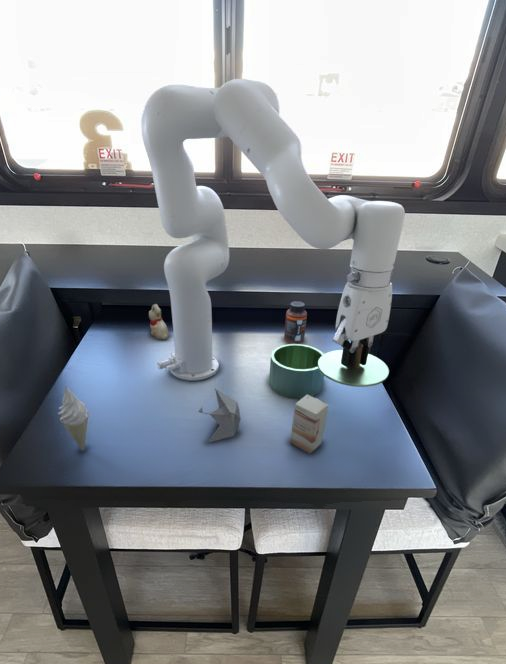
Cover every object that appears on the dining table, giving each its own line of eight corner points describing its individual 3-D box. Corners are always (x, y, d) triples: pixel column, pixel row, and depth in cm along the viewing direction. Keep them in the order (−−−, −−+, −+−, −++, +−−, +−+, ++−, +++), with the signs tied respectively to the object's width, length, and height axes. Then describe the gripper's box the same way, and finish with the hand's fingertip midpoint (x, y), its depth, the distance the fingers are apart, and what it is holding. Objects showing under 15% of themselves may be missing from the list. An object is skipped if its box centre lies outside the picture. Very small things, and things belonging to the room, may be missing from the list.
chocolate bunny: (169, 328, 128) (166, 297, 123) (168, 340, 122) (166, 307, 116) (150, 329, 128) (147, 298, 122) (149, 340, 121) (146, 308, 116)
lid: (352, 397, 78) (357, 369, 74) (303, 364, 88) (306, 338, 84) (402, 376, 84) (409, 350, 81) (352, 348, 94) (356, 323, 91)
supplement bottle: (303, 345, 120) (307, 308, 114) (282, 343, 121) (285, 306, 115) (304, 336, 125) (308, 300, 119) (285, 334, 126) (288, 299, 120)
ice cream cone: (72, 442, 83) (56, 378, 75) (98, 441, 84) (84, 378, 76) (66, 459, 79) (47, 394, 71) (93, 458, 79) (78, 393, 71)
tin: (291, 404, 96) (294, 376, 92) (258, 377, 105) (260, 351, 101) (333, 388, 102) (338, 361, 98) (299, 364, 111) (302, 339, 107)
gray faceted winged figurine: (242, 442, 82) (197, 435, 80) (233, 450, 88) (191, 444, 86) (247, 388, 87) (204, 379, 85) (238, 399, 93) (198, 391, 91)
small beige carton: (289, 442, 84) (293, 402, 79) (301, 432, 87) (306, 393, 82) (310, 455, 81) (316, 414, 76) (322, 444, 84) (329, 403, 79)
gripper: (352, 290, 69) (336, 383, 79) (416, 274, 76) (394, 362, 86) (321, 277, 74) (310, 366, 84) (384, 264, 81) (367, 347, 91)
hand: (353, 363), depth 85 cm, fingers closed on lid, 2 cm apart
